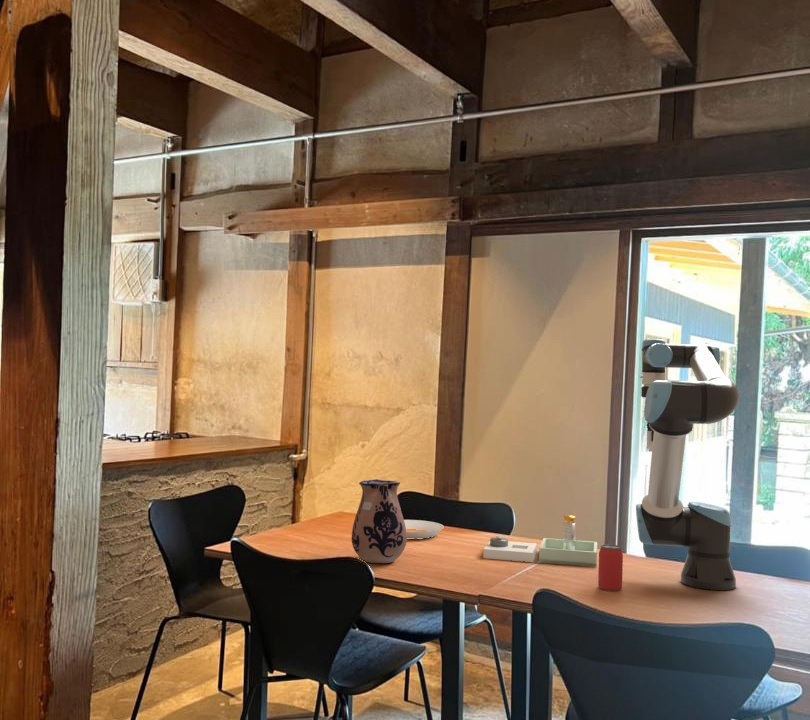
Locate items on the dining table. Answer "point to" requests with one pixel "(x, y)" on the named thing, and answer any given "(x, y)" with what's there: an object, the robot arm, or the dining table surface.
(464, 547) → the dining table surface
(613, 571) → the beer can
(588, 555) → the tray
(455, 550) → the dining table surface
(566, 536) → the capped clear tube
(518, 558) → the block
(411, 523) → the bowl
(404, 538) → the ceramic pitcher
